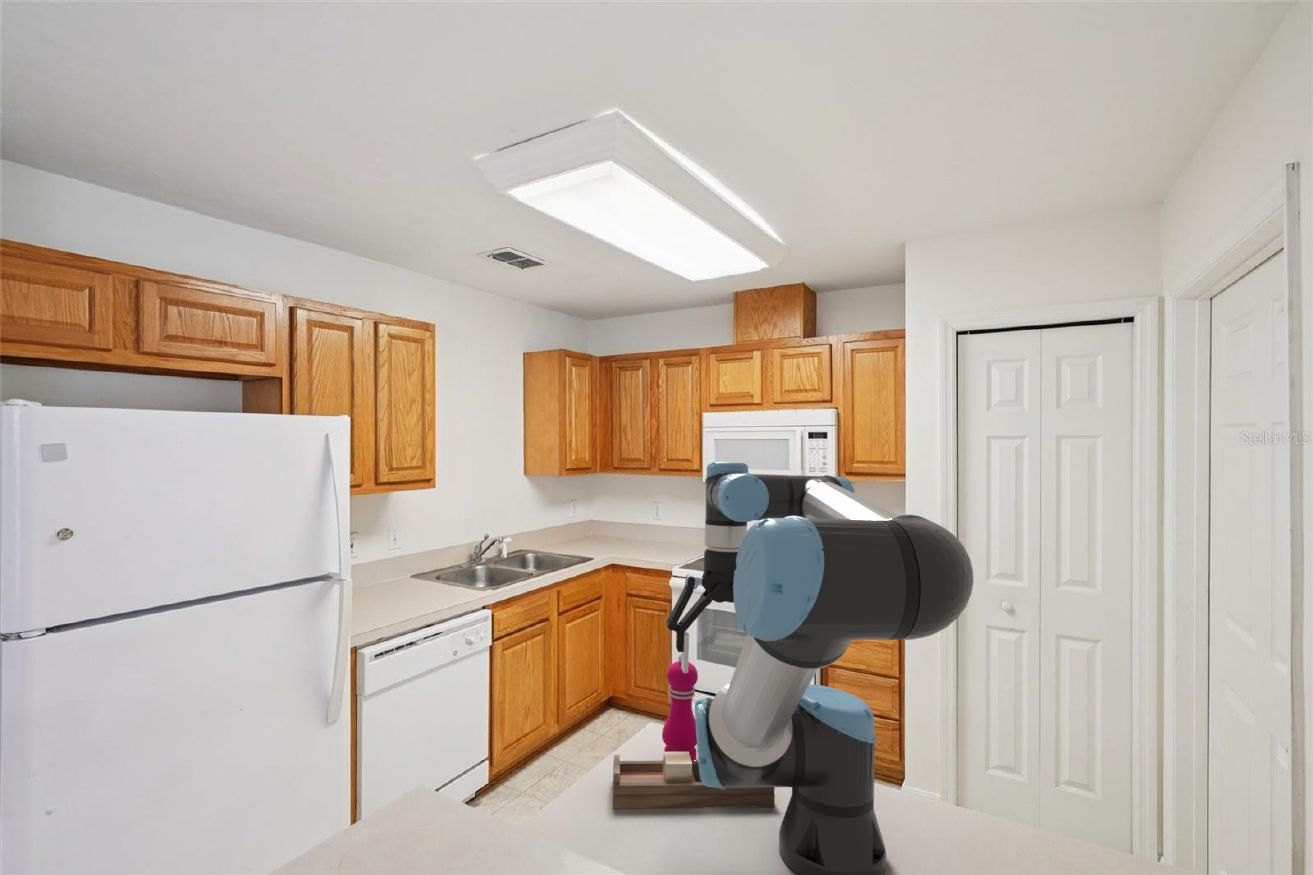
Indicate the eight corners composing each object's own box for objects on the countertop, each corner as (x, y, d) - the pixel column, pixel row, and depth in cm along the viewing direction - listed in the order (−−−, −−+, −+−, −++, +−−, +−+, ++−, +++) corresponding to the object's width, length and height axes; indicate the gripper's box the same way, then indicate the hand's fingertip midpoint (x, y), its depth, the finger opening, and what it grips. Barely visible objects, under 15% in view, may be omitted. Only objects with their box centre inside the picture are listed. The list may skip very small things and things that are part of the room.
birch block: (691, 788, 104) (692, 764, 104) (665, 788, 103) (665, 764, 103) (688, 774, 108) (688, 751, 108) (662, 774, 108) (663, 751, 108)
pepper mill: (695, 770, 114) (698, 661, 115) (657, 764, 116) (660, 657, 116) (701, 752, 121) (704, 650, 122) (665, 747, 123) (668, 647, 123)
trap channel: (774, 806, 102) (774, 776, 102) (613, 808, 100) (614, 777, 101) (761, 779, 111) (761, 751, 111) (612, 780, 109) (613, 751, 110)
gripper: (786, 546, 114) (784, 662, 113) (653, 545, 111) (650, 663, 110) (800, 552, 106) (798, 676, 105) (658, 550, 103) (655, 678, 102)
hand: (722, 670), depth 107 cm, fingers open, 13 cm apart
